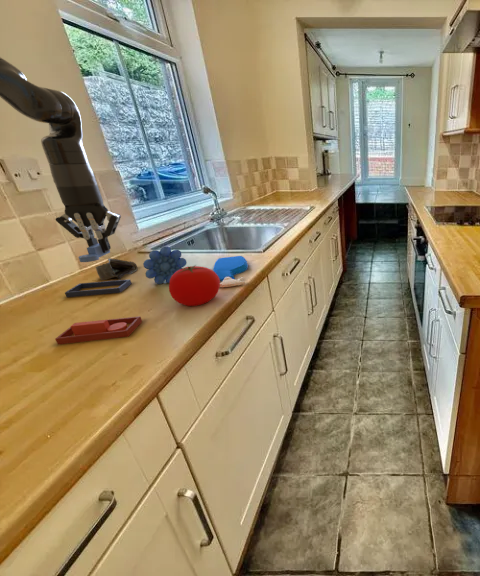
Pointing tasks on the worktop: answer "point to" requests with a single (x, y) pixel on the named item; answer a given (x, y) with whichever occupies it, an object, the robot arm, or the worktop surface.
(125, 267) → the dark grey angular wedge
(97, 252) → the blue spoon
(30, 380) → the worktop surface
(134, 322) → the red tray
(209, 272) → the tomato
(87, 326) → the red long stepped block
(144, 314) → the worktop surface
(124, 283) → the blue tray
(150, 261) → the blue flower
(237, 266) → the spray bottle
